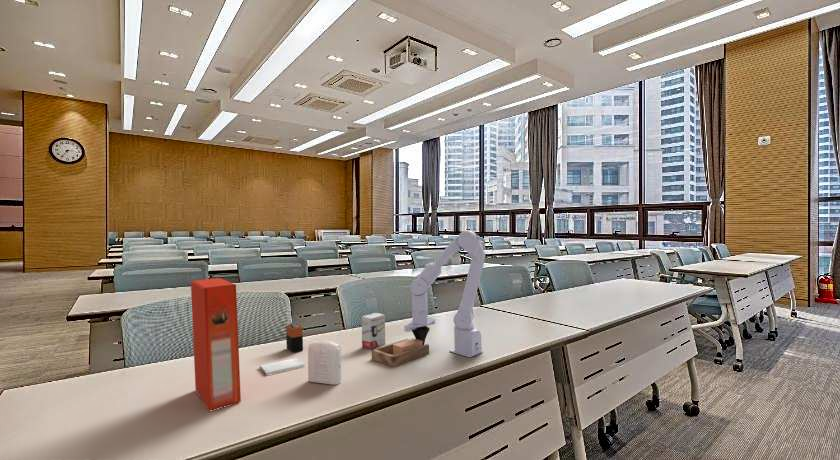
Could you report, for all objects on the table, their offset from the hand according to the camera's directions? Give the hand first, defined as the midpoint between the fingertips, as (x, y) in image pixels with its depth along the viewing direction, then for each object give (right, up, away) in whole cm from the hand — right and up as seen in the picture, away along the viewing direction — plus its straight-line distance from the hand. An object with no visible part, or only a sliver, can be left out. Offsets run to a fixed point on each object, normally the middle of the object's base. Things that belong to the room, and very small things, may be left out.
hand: (420, 346), depth 148 cm
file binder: (-57, -3, -37) cm, 68 cm away
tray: (-7, -1, -7) cm, 10 cm away
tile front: (-6, -1, -6) cm, 9 cm away
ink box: (-18, -1, +6) cm, 19 cm away
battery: (-48, -2, +2) cm, 48 cm away
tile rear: (-3, -1, -3) cm, 4 cm away
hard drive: (-46, -3, -16) cm, 49 cm away
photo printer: (-29, -2, -28) cm, 41 cm away
